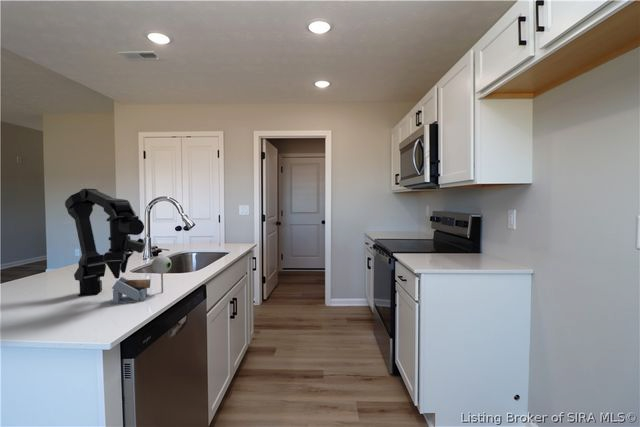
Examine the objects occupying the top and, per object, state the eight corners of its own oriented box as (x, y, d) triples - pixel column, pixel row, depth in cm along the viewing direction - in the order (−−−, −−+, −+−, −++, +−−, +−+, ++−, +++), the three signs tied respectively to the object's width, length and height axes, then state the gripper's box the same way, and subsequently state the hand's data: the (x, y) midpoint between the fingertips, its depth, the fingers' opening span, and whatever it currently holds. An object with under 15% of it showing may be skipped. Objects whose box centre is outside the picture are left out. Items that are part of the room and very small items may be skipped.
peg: (124, 289, 119) (148, 288, 122) (124, 281, 119) (149, 280, 121) (126, 287, 122) (150, 286, 125) (126, 279, 122) (150, 278, 124)
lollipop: (164, 295, 126) (163, 257, 125) (148, 294, 127) (147, 257, 127) (175, 290, 133) (175, 254, 132) (160, 289, 134) (159, 253, 133)
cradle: (110, 304, 116) (109, 281, 115) (115, 298, 123) (114, 276, 122) (145, 301, 119) (144, 278, 119) (148, 295, 126) (147, 274, 126)
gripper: (138, 235, 113) (140, 279, 113) (147, 230, 130) (149, 268, 131) (101, 237, 109) (103, 282, 110) (116, 231, 126) (117, 270, 127)
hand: (120, 275), depth 120 cm, fingers open, 9 cm apart
